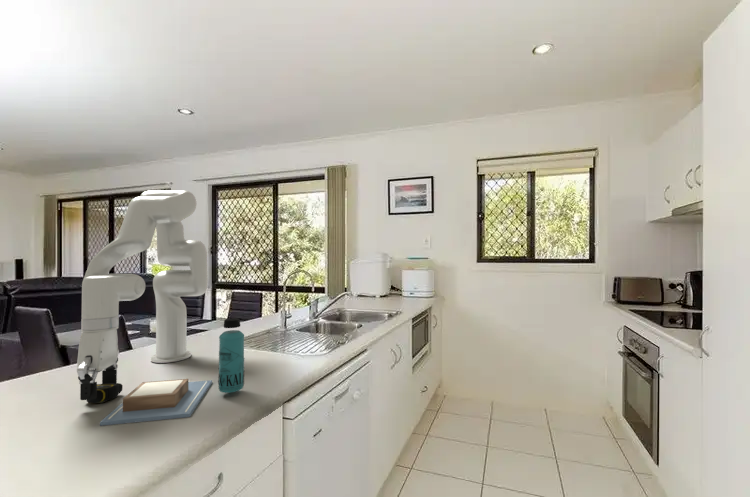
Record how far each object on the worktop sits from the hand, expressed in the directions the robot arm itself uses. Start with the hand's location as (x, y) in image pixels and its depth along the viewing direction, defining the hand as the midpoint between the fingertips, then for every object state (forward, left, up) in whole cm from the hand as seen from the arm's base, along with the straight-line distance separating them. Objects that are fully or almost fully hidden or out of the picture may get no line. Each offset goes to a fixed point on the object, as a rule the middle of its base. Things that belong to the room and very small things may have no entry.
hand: (99, 391), depth 90 cm
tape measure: (-2, 0, -3) cm, 3 cm away
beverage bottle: (+3, +32, -3) cm, 32 cm away
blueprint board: (+4, +16, -2) cm, 17 cm away
